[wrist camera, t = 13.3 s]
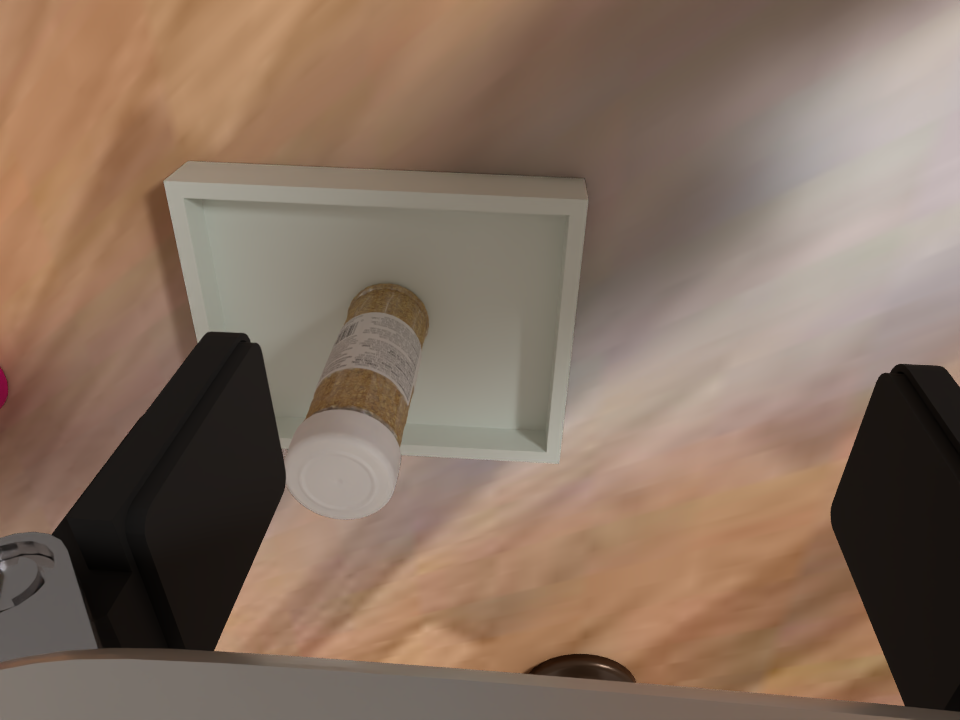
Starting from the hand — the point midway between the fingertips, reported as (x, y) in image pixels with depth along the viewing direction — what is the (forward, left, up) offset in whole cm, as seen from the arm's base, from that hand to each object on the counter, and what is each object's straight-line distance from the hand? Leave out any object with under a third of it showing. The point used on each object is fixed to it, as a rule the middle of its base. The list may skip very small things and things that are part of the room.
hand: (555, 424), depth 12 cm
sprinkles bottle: (+7, +13, -26) cm, 30 cm away
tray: (+7, +13, -27) cm, 31 cm away
